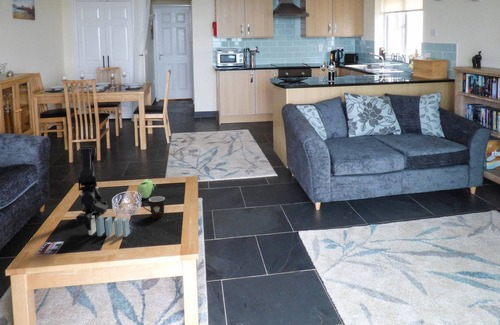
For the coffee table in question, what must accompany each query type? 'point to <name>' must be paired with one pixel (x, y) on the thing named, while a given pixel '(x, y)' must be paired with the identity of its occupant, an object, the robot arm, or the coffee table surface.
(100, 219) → the domino
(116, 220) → the domino
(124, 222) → the domino
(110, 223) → the domino
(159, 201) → the coffee mug
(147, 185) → the green rounded lump
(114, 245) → the coffee table surface
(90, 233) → the domino
